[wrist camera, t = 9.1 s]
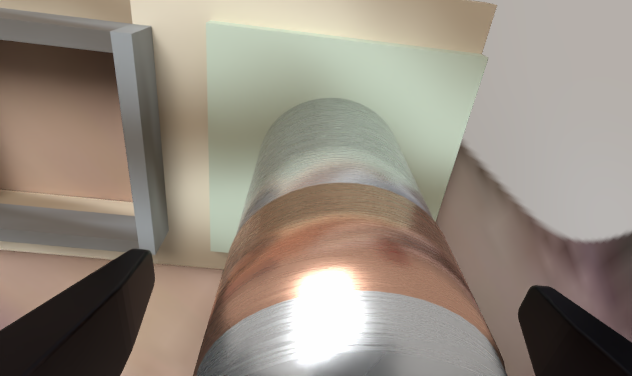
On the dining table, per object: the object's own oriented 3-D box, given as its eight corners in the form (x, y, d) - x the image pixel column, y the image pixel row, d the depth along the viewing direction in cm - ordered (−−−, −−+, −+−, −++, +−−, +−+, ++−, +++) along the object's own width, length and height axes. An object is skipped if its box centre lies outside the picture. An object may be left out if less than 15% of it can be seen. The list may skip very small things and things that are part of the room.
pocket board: (404, 271, 19) (416, 312, 17) (-23, 232, 18) (-71, 271, 16) (485, 2, 13) (519, 10, 11) (-142, -81, 12) (-247, -91, 10)
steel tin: (384, 230, 16) (470, 546, 7) (254, 219, 16) (182, 535, 7) (416, 105, 13) (605, 365, 5) (260, 87, 13) (157, 334, 4)
